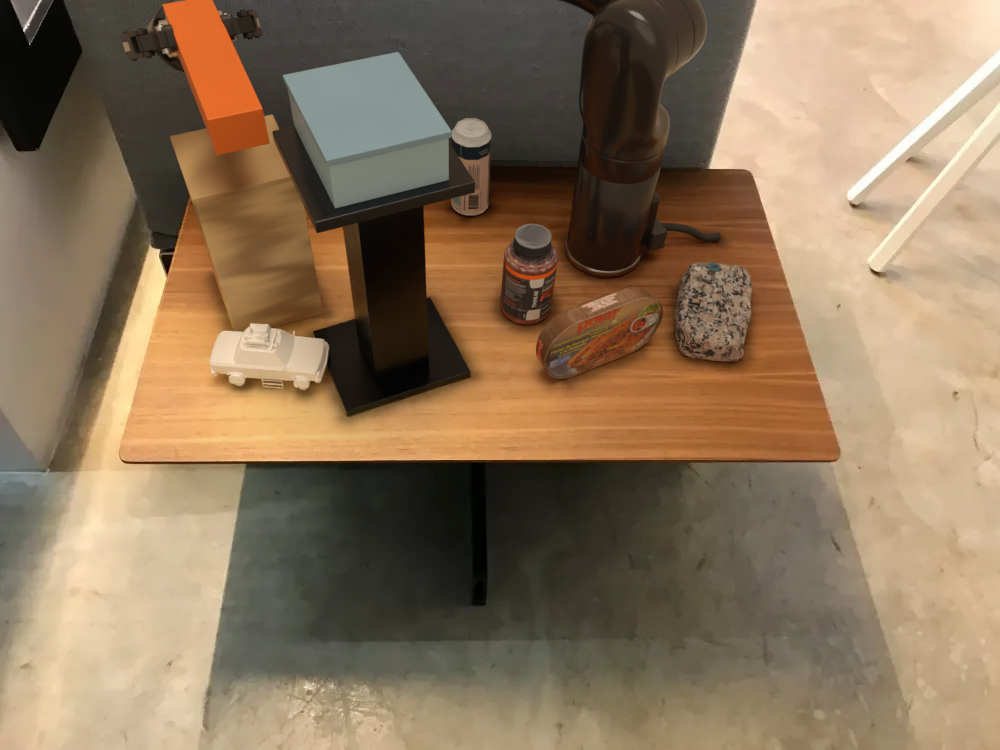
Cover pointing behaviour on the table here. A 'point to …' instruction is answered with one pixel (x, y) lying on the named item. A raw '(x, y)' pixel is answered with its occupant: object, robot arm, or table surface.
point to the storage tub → (369, 128)
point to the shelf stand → (382, 287)
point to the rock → (713, 311)
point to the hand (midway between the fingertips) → (200, 32)
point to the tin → (598, 332)
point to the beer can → (473, 163)
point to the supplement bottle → (529, 275)
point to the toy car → (269, 356)
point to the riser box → (251, 229)
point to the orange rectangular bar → (216, 77)
